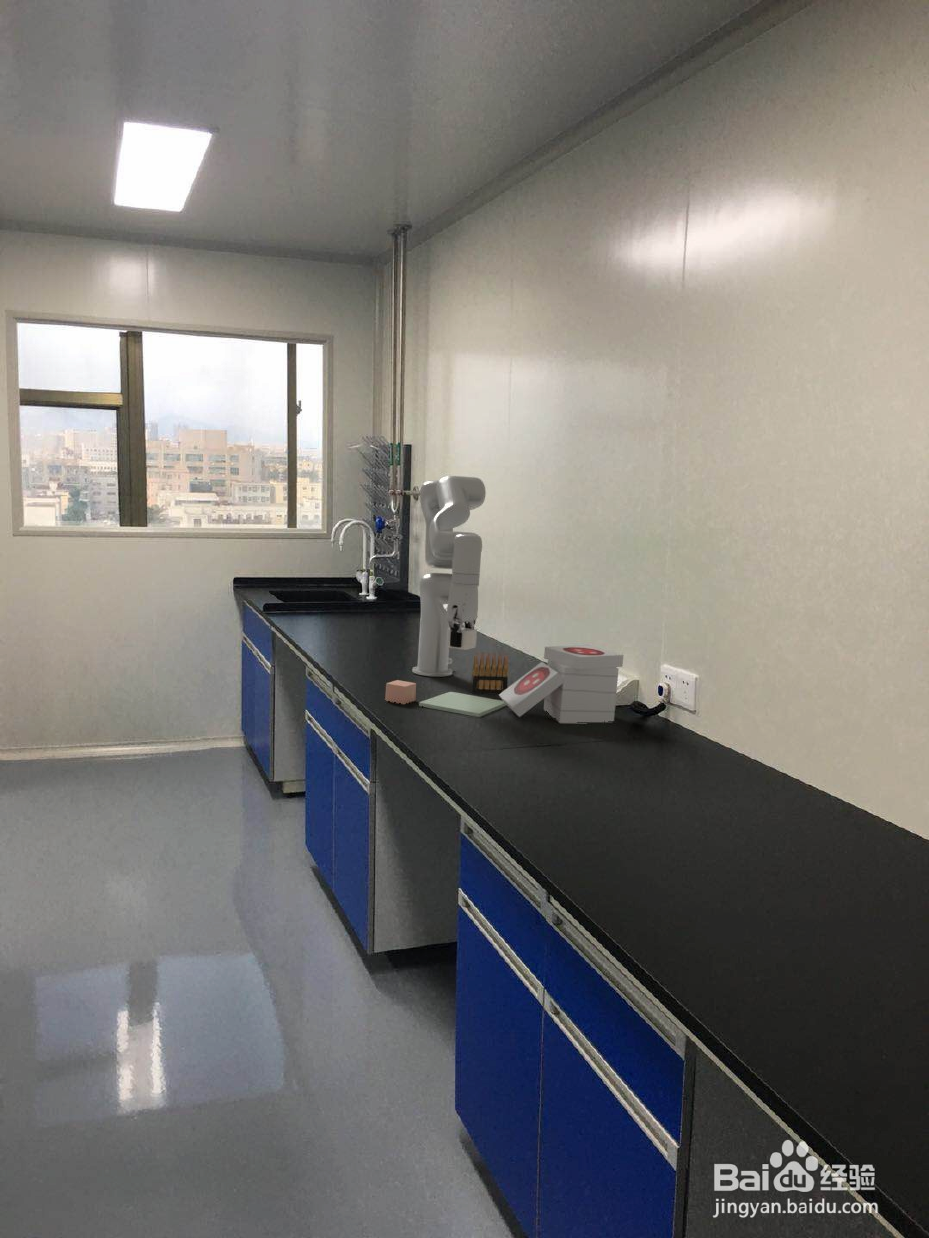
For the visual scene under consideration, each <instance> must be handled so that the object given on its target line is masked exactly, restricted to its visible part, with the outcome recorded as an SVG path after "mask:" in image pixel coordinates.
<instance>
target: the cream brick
mask: <svg viewBox="0 0 929 1238" xmlns="http://www.w3.org/2000/svg"><path fill="white" fill-rule="evenodd" d="M460 633H462V641H461V647H460V648H458V647H451V646H450V635H451V632H450V628H449V629H447V641H446V647H449V649H457V650H464V651H467V650H471V649H476V648H477V636H478V635H477V634H478V629H476V628H474V629H469V628H464V627H462V628H461V632H460Z"/></svg>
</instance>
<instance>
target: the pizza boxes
mask: <svg viewBox="0 0 929 1238" xmlns="http://www.w3.org/2000/svg"><path fill="white" fill-rule="evenodd" d="M543 659H544V660H547V664H546V663H544V662H543V661H541V662H539V663H538V664H537V665H536V666H534V667H533V668H532V669H530V670H529V671H528V672H526V673H525V674H523V675H522V676H521V677H520V678H518V679H517V680H516V681H515V682H513V683H511V685H508V686H507V689H506V690H504V691H503V692H502V693H500V694H498V696H499V698H500V699H501V701H504V703H505V704H506V705H507V706H506V707H508V708H509V709H511V711H512V712H513V713H514V714H516V716H518V717H519V718H520V717H522V716H523V715H524V714H526V713H527V712H528V711H529V710H530V709H532V708H533V707H535V705H538V703H540V702H541V701H542V700H543V701H544V703H543V710H544V711H545V712H546V711H547V712H548V713H549V714H548V713H547V712H546V713H547V714H548V715H550V716H551V717H552V718H553V719H554V718H556V719H557V720H558V721H557V720H556V719H555V720H556V721H557V722H558V723H559V724H578V723H577V722H604V721H605V722H608V721H614V722H615V713H616V712H615V711H616V703H617V689H618V681H619V679H618V677H619V668H623V665H624V663H623V662H624V654H622V653H617V652H614V651H610V650H607V649H604V648H599V647H596V646H592V645H589V644H583V645H582V644H581V645H558V646H557V645H556V646H555V645H554V646H544V654H543Z"/></svg>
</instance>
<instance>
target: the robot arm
mask: <svg viewBox="0 0 929 1238" xmlns="http://www.w3.org/2000/svg"><path fill="white" fill-rule="evenodd" d="M419 491H420V492H419V502H420V506H421V511H422V514H423V517H424V522H425V541H424V542H425V544H424V548H425V549H424V551H425V552H424V554H425V555H424V557H425V558H424V559H425V560H424V561H425V563H426V565H427V566H428V567H430V568H431V569H438V570H439V569H441V570H451V573H447V572H445V573H444V572H430V573H426V574H423V576H422V577H420V580H419V598H420V600H419V601H420V619H419V620H420V621H419V635H418V636H419V637H418V651H417V652H418V653H417V654H418V655H417V666H413V667H412V673H413V674H415V675H418V676H425V677H432V678H433V677H435V678H436V677H438V678H439V677H449V676H452V675H453V670H452V668H450V667H449V665H450V664H453V659H452V658H451V657H449V653H450V648H449V647H446V641H447V629H449V628H450V632H451V635H450V646H451V647H458V648H460V647H461V641H462V633H460V632H461V628H469V629H475V624H476V621H477V619H478V613H479V587H480V576H481V575H480V573H481V560H482V559H481V558H482V549H483V541H482V540H483V539H482V537H481V536H480V535H479V534H477V533H475V532H467V531H455V530H454V529H455V528H457V527H460V526H462V525H465V523H466V522H467V521H468V520H469V518H470V514H471V511H473V510H476V509H477V508H480V507H481V506H482V505H483V504H484V502H485V500H486V493H487V492H486V486H485V483H484V482H483V481H482V479H480V478H478V477H475V476H463V475H462V476H460V475H459V476H458V475H446V476H444V477H442V478H440V479H438V480H437V479H436V480H435V479H434V480H429V481H425V482H423V483H422V485H421V487H420V490H419ZM453 530H454V531H453ZM445 605H447V607H446V608H447V609H446V608H445Z"/></svg>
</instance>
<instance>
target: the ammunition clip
mask: <svg viewBox="0 0 929 1238" xmlns="http://www.w3.org/2000/svg"><path fill="white" fill-rule="evenodd" d="M497 658H498V659H497ZM473 659H474V660H473V665H472V666H473V667H472V675H471V680H470V681H471V682H470V691H469V692H470V693H471V694H488V693H502V692H503V691H504V690H506V689H507V688H508V684H509V683H508V676H509V675H508V674H509V665H508V664H509V661H508V660H509V657H508V653H507V652H506V653H505V654H504V657H503V655H502V653H501V652H500V653H499V655H498V657H497V654H496V652H493V655H492V659H491V654H490V652H488V653H487V655H486V660H485V653H484V652H481V655H480V660H479V653H478V651H476V652H475V655H474V658H473ZM485 661H486V662H485Z"/></svg>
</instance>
